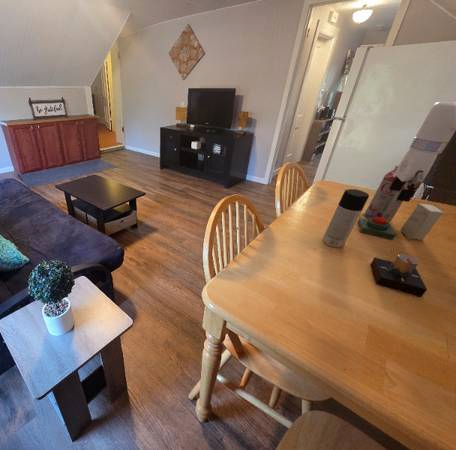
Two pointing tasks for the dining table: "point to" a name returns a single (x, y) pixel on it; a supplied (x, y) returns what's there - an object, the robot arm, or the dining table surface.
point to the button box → (376, 228)
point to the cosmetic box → (421, 221)
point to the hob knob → (403, 265)
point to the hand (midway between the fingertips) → (398, 195)
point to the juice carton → (385, 199)
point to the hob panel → (397, 278)
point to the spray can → (345, 217)
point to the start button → (380, 220)
